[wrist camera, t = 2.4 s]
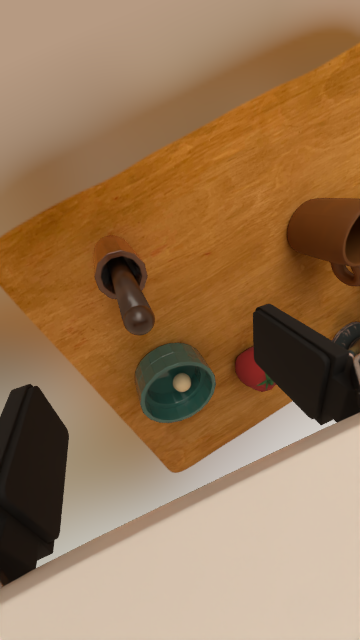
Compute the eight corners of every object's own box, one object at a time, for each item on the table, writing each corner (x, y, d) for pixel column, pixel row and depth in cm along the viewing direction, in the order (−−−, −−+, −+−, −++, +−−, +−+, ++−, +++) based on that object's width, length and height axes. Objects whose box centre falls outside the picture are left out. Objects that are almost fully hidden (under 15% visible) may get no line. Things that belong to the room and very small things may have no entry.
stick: (108, 264, 28) (130, 345, 13) (103, 249, 27) (121, 318, 12) (123, 261, 28) (161, 335, 13) (118, 245, 27) (154, 307, 13)
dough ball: (172, 385, 40) (177, 398, 38) (169, 373, 39) (174, 385, 36) (188, 379, 41) (194, 391, 38) (185, 366, 39) (192, 378, 37)
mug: (332, 258, 40) (391, 274, 32) (295, 283, 40) (346, 305, 32) (324, 186, 33) (397, 184, 25) (279, 216, 33) (339, 223, 25)
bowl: (144, 406, 41) (151, 433, 36) (125, 356, 35) (130, 380, 30) (204, 382, 43) (218, 405, 39) (196, 331, 37) (211, 350, 33)
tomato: (252, 376, 47) (276, 402, 41) (221, 370, 43) (243, 399, 37) (273, 343, 45) (302, 366, 39) (243, 334, 41) (269, 358, 35)
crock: (101, 276, 29) (105, 306, 21) (87, 240, 26) (87, 258, 19) (135, 267, 30) (151, 292, 22) (125, 231, 27) (139, 245, 20)
